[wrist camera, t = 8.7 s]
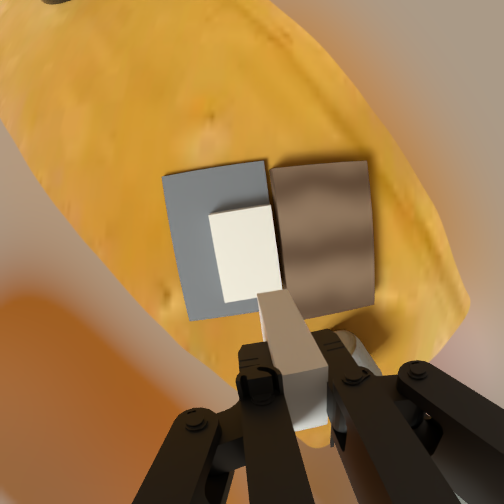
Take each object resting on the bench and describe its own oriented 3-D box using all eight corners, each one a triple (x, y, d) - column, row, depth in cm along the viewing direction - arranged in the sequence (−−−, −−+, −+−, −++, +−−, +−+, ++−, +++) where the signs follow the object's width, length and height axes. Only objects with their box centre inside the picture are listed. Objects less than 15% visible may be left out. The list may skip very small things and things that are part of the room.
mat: (162, 176, 29) (161, 176, 28) (262, 161, 29) (263, 160, 29) (190, 318, 33) (189, 321, 32) (281, 305, 33) (282, 307, 33)
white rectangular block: (209, 213, 30) (208, 215, 28) (268, 203, 30) (270, 205, 28) (224, 295, 32) (224, 302, 30) (279, 286, 32) (282, 292, 30)
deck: (269, 169, 30) (272, 168, 27) (357, 162, 30) (366, 160, 28) (286, 312, 33) (290, 321, 31) (365, 296, 34) (374, 304, 31)
